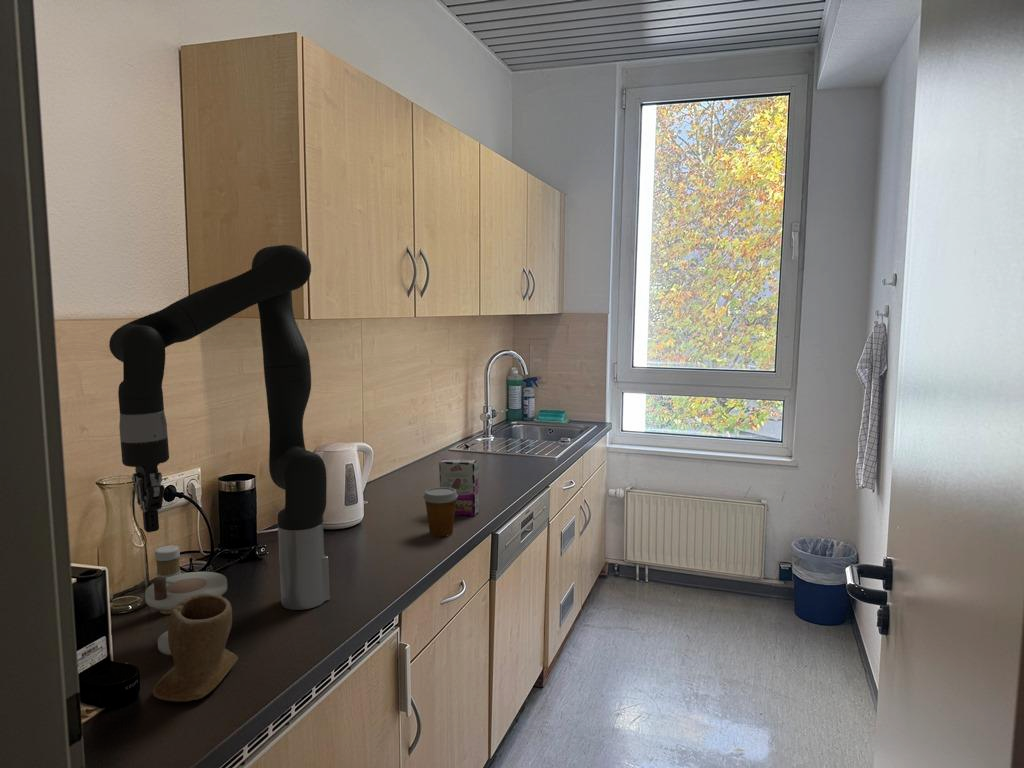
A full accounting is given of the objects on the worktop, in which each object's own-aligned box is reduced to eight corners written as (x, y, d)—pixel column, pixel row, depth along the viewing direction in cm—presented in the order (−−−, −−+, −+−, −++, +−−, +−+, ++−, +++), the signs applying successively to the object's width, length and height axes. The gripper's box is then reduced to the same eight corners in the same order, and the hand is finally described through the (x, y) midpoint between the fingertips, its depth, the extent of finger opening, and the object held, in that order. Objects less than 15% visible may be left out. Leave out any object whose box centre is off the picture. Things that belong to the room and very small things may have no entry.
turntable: (187, 575, 142) (186, 551, 142) (243, 584, 137) (241, 559, 137) (127, 602, 129) (125, 576, 129) (186, 614, 124) (185, 586, 124)
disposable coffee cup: (450, 540, 190) (449, 497, 189) (418, 537, 193) (417, 494, 192) (463, 529, 199) (463, 488, 198) (433, 526, 202) (432, 485, 201)
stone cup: (213, 710, 112) (208, 619, 110) (142, 706, 113) (136, 616, 111) (257, 661, 127) (253, 581, 125) (194, 658, 128) (189, 579, 126)
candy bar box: (479, 512, 216) (479, 459, 214) (475, 516, 211) (474, 463, 209) (445, 509, 219) (444, 457, 217) (439, 514, 214) (438, 461, 212)
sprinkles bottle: (177, 603, 151) (174, 543, 150) (186, 610, 148) (182, 548, 146) (155, 610, 148) (151, 548, 146) (164, 617, 145) (159, 553, 143)
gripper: (177, 439, 124) (184, 535, 126) (157, 429, 134) (164, 517, 136) (129, 445, 119) (137, 544, 121) (112, 434, 129) (120, 526, 131)
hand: (151, 530), depth 128 cm, fingers closed
